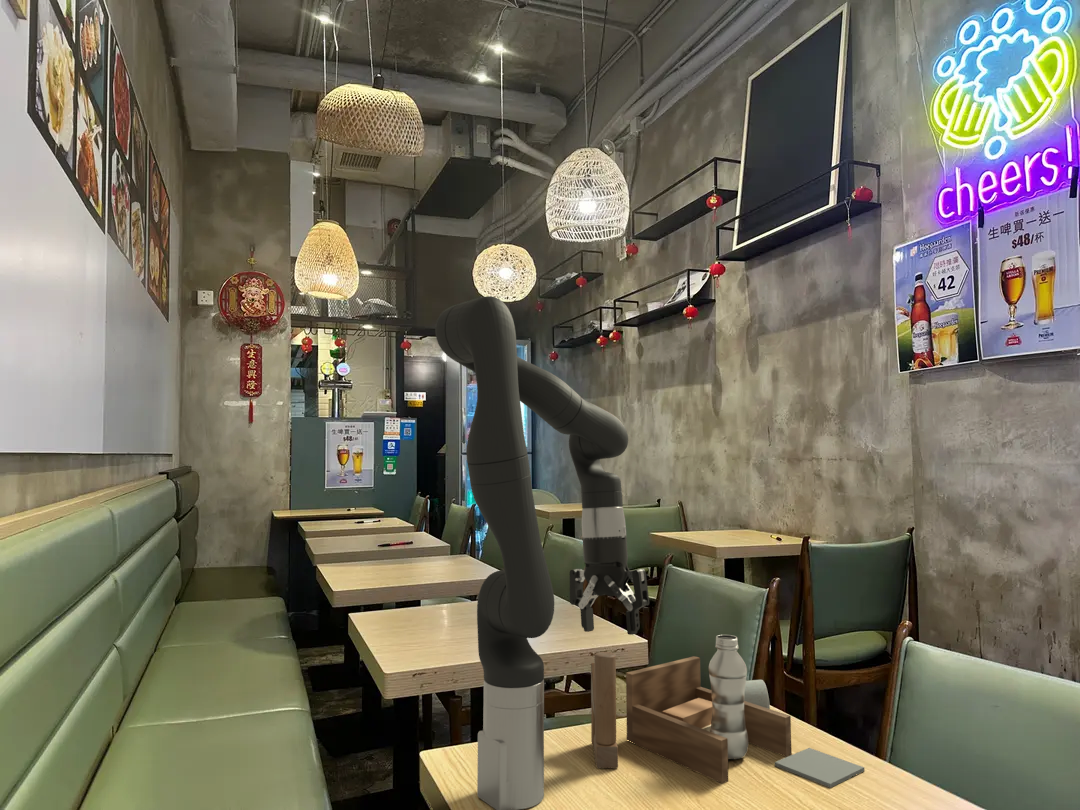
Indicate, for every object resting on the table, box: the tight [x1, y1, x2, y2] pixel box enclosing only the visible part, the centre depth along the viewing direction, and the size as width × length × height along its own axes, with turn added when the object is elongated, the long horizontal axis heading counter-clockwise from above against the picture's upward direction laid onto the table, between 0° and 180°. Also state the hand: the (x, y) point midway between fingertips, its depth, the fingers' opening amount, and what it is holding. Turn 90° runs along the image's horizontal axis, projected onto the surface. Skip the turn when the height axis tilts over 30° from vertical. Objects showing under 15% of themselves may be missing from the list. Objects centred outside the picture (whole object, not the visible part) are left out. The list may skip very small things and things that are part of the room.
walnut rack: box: [625, 656, 793, 784], centre depth 126 cm, size 18×22×12 cm
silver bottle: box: [708, 634, 750, 760], centre depth 123 cm, size 6×7×20 cm
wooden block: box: [590, 651, 619, 769], centre depth 123 cm, size 4×11×18 cm, turn 0°
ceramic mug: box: [744, 679, 771, 709], centre depth 138 cm, size 11×8×8 cm
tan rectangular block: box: [662, 698, 712, 732], centre depth 129 cm, size 12×5×6 cm, turn 128°
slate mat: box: [774, 747, 865, 789], centre depth 117 cm, size 10×10×1 cm
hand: (610, 632), depth 119 cm, fingers open, 8 cm apart
